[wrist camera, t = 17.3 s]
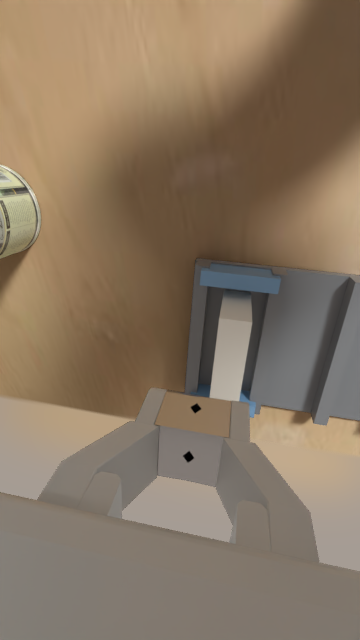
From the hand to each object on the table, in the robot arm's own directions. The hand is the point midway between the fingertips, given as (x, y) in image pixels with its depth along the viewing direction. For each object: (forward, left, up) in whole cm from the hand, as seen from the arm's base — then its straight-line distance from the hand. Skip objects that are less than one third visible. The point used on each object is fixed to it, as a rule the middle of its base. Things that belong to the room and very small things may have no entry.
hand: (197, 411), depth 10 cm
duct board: (-1, +15, -29) cm, 33 cm away
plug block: (+6, +10, -28) cm, 30 cm away
